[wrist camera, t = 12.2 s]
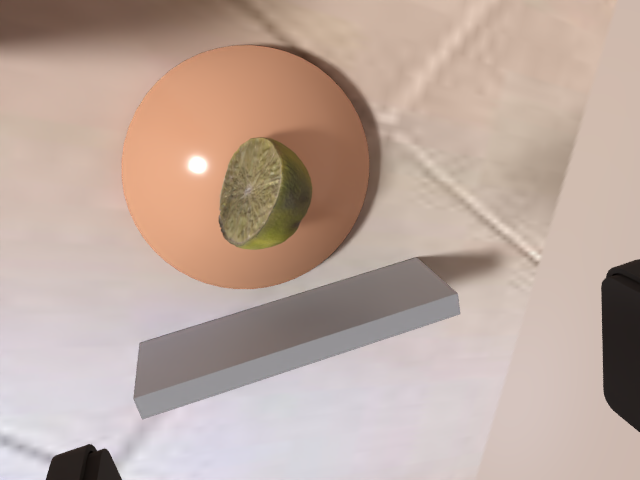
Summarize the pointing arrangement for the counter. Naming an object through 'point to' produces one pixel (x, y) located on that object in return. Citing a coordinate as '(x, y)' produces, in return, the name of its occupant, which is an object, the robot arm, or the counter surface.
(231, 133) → the peach domed disc
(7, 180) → the counter surface
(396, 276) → the low wall
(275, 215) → the lime
